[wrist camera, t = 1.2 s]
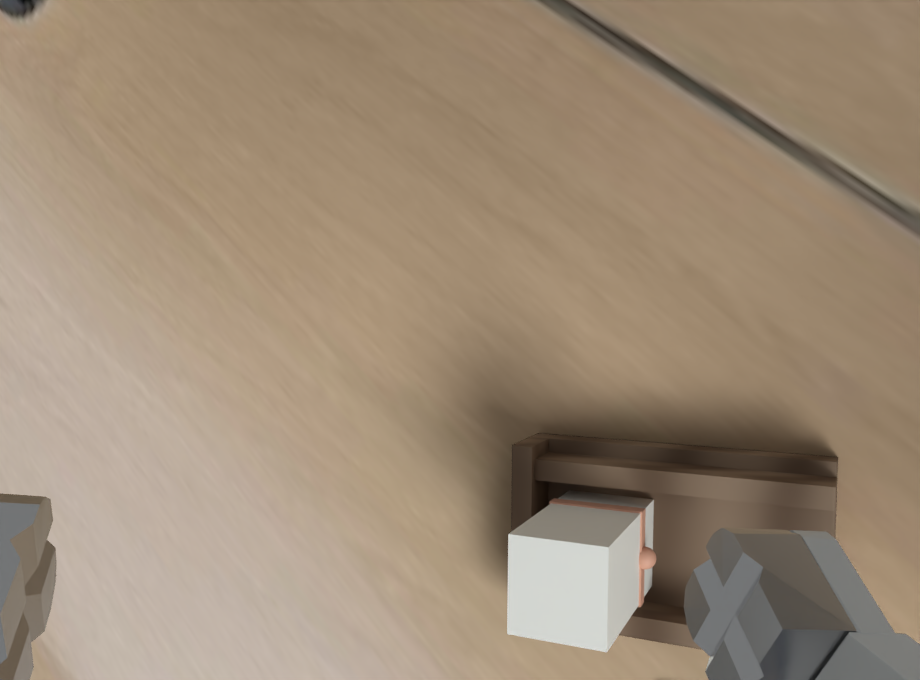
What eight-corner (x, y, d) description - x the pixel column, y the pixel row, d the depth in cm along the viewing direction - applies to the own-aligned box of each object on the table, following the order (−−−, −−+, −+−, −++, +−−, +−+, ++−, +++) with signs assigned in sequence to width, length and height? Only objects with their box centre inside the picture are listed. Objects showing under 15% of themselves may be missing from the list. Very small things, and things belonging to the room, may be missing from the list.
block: (667, 499, 49) (625, 547, 40) (666, 589, 49) (623, 657, 40) (567, 488, 51) (506, 531, 42) (566, 574, 52) (505, 635, 43)
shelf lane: (837, 457, 47) (836, 473, 43) (831, 656, 47) (829, 691, 43) (538, 433, 54) (512, 445, 50) (536, 607, 54) (510, 633, 50)
